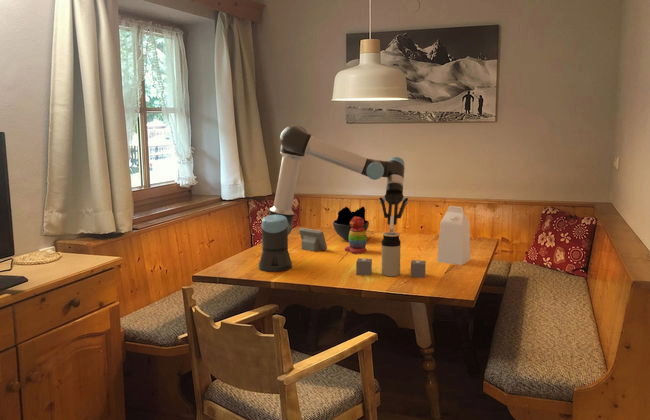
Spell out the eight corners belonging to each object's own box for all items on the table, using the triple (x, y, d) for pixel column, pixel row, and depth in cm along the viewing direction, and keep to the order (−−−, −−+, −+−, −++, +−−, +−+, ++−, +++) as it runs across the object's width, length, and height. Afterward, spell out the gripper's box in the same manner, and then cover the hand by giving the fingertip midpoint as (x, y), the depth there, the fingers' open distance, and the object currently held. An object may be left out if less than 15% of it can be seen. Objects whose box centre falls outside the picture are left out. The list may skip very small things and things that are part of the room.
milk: (470, 260, 279) (472, 206, 275) (461, 265, 270) (463, 209, 266) (446, 256, 286) (448, 204, 282) (437, 261, 276) (438, 207, 272)
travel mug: (390, 277, 249) (390, 236, 246) (377, 273, 255) (378, 233, 253) (403, 274, 254) (404, 234, 251) (391, 271, 260) (391, 231, 257)
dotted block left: (370, 275, 253) (370, 261, 252) (356, 275, 254) (356, 260, 253) (371, 272, 259) (371, 258, 258) (358, 271, 260) (358, 257, 259)
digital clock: (328, 250, 301) (328, 230, 299) (314, 253, 296) (314, 232, 294) (310, 245, 314) (310, 225, 312) (296, 247, 308) (296, 227, 307)
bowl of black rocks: (327, 241, 322) (327, 207, 319) (340, 235, 340) (340, 202, 337) (361, 244, 314) (362, 210, 311) (373, 237, 332) (373, 204, 330)
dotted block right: (424, 277, 249) (425, 263, 248) (410, 277, 250) (410, 263, 249) (425, 274, 255) (425, 260, 254) (411, 273, 256) (411, 259, 255)
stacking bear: (343, 250, 302) (343, 216, 299) (360, 248, 306) (360, 214, 304) (353, 254, 292) (353, 219, 290) (371, 252, 297) (371, 217, 294)
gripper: (409, 192, 266) (407, 235, 253) (380, 191, 269) (376, 234, 255) (409, 182, 261) (406, 225, 247) (379, 181, 263) (375, 225, 249)
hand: (391, 230), depth 251 cm, fingers closed
